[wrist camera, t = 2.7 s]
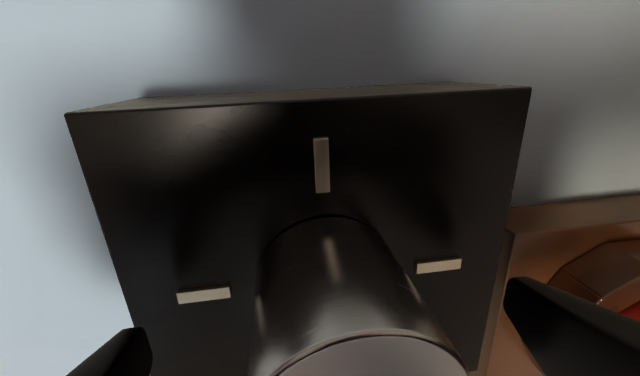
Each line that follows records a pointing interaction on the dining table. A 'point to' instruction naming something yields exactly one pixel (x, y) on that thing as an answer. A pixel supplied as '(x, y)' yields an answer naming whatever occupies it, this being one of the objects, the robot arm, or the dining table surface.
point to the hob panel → (297, 199)
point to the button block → (563, 267)
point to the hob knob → (342, 309)
